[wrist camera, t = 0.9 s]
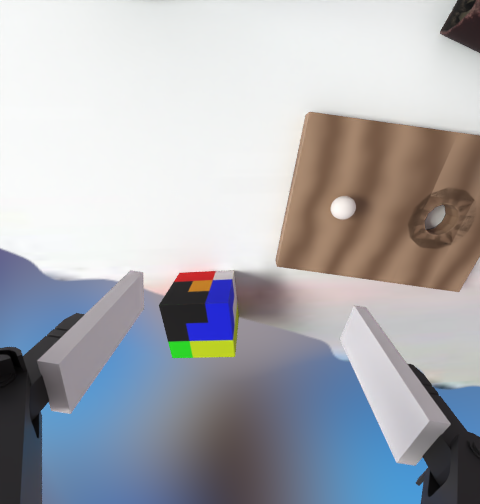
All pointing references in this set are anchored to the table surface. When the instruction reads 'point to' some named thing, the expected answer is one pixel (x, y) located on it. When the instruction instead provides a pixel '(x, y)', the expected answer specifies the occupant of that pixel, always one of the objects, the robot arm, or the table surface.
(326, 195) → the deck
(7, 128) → the table surface
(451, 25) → the diary
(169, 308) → the puzzle toy
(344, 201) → the ball
